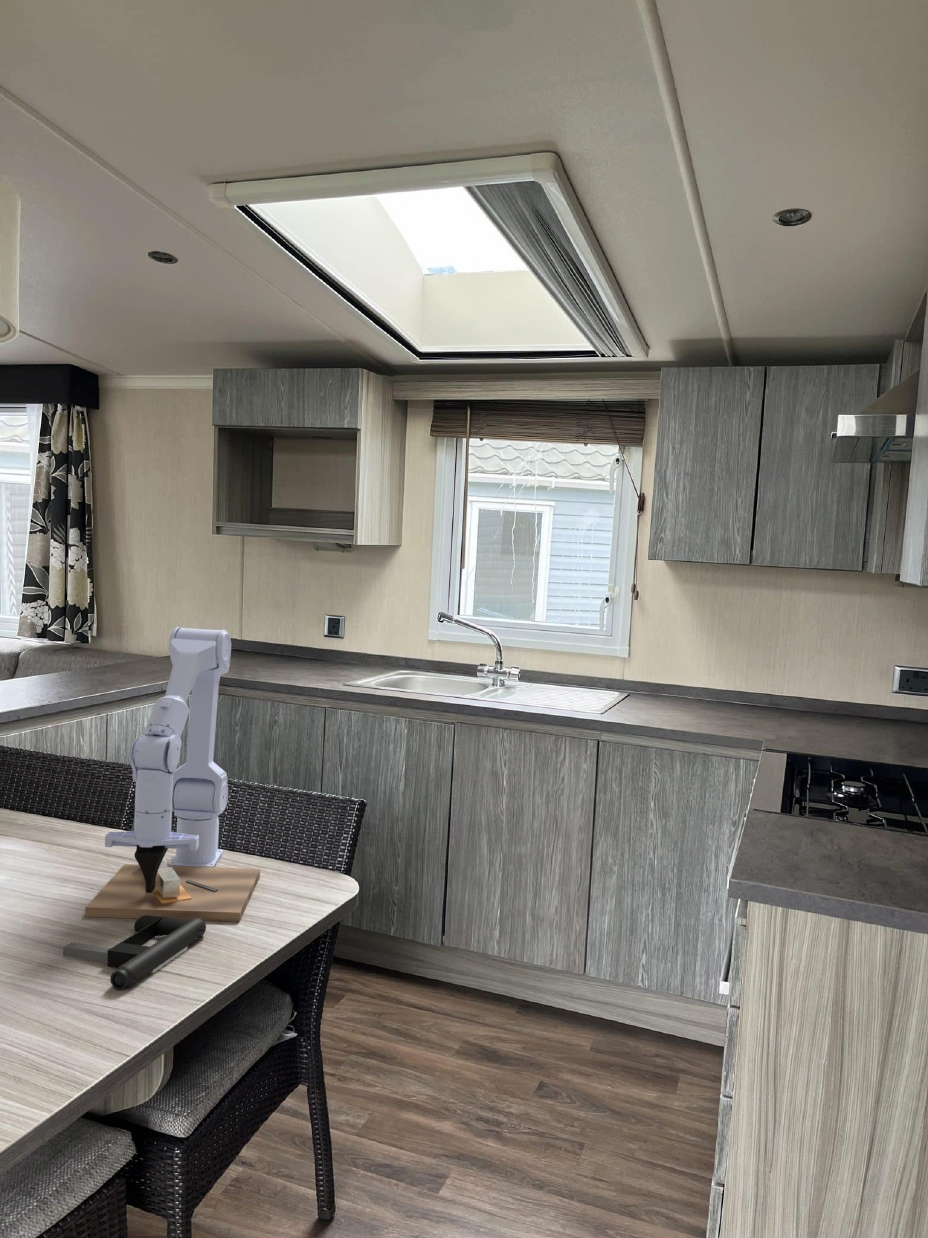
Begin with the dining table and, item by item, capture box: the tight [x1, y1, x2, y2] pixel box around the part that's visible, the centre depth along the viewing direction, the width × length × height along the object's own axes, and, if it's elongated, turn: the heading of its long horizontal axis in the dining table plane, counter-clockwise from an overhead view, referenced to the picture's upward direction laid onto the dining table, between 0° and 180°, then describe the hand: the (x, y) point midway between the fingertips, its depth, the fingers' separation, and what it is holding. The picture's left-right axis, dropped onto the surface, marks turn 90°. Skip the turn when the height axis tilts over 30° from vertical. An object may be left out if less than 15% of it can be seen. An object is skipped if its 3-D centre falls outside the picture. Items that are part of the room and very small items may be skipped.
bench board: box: [84, 863, 261, 923], centre depth 154 cm, size 20×24×2 cm
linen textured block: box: [155, 859, 180, 898], centre depth 156 cm, size 18×4×4 cm, turn 31°
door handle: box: [62, 915, 207, 991], centre depth 132 cm, size 3×20×16 cm
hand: (150, 890), depth 149 cm, fingers closed
